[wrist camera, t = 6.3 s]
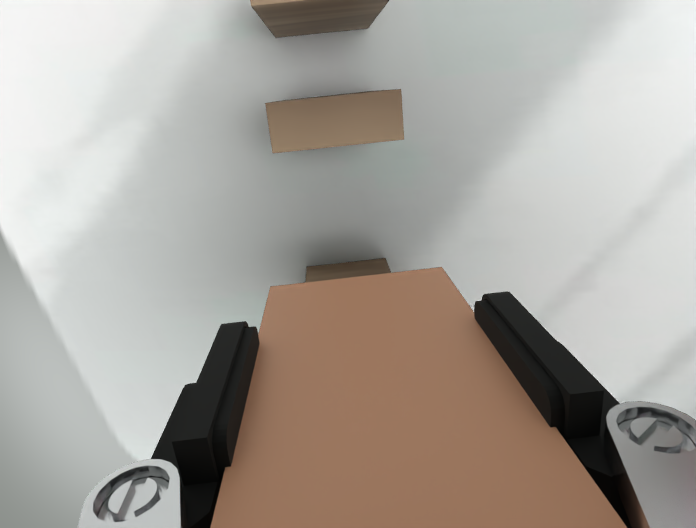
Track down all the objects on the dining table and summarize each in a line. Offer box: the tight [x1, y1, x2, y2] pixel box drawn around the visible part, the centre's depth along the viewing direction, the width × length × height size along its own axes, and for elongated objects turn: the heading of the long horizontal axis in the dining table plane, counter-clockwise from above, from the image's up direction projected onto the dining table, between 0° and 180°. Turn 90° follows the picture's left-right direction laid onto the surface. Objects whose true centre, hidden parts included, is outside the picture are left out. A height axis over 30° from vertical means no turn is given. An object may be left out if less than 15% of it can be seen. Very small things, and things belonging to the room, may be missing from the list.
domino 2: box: [265, 89, 404, 153], centre depth 23 cm, size 2×5×10 cm, turn 96°
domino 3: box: [305, 258, 391, 283], centre depth 26 cm, size 2×5×10 cm, turn 96°
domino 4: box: [210, 267, 627, 528], centre depth 10 cm, size 2×5×10 cm, turn 96°
